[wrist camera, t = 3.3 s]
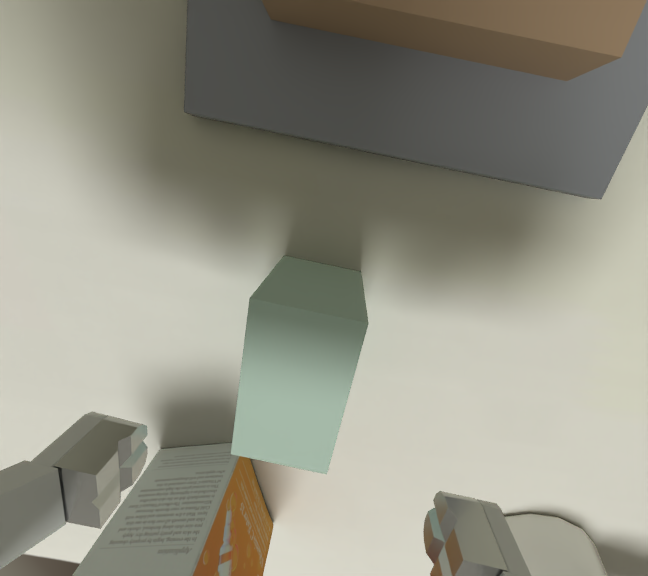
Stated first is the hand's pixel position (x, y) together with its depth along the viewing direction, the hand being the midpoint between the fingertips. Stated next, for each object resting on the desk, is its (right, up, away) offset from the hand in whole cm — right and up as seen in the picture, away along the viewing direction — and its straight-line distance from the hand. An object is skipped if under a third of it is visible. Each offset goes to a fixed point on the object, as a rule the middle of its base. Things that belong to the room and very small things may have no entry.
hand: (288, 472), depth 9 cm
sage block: (0, +3, +8) cm, 9 cm away
